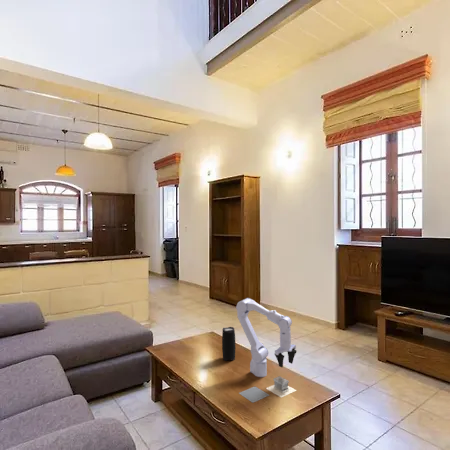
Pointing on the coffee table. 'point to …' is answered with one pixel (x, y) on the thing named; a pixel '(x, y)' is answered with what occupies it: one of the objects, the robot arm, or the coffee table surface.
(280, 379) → the block
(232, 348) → the portable speaker
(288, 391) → the stand
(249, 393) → the stand
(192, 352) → the coffee table surface
